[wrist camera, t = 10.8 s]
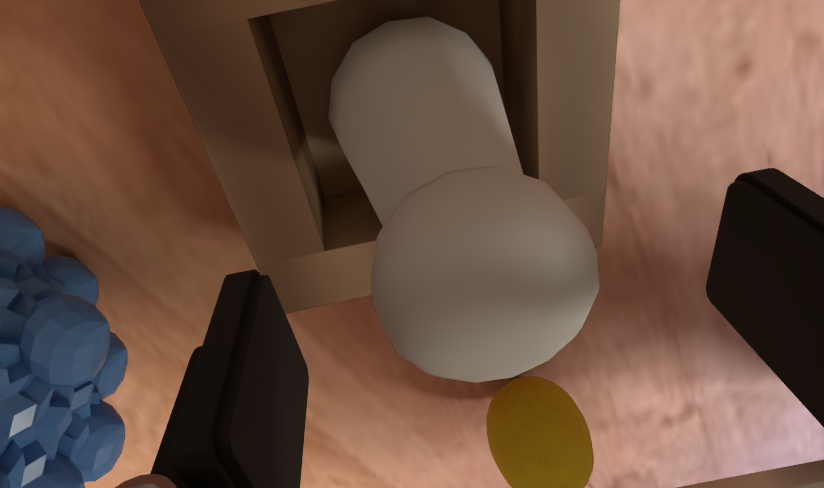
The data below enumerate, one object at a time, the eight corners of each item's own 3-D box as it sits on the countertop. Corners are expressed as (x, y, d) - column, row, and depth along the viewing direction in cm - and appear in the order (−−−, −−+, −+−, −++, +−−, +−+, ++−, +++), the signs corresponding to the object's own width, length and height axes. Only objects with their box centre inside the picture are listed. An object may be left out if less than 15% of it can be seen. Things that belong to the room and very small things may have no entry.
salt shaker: (303, 34, 18) (271, 248, 7) (459, -21, 17) (662, 118, 7) (360, 174, 21) (394, 457, 11) (491, 130, 21) (660, 378, 10)
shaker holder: (560, -162, 16) (634, -177, 12) (556, 187, 24) (601, 245, 20) (161, -81, 16) (107, -71, 12) (286, 244, 24) (278, 315, 20)
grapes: (229, 316, 26) (171, 577, 16) (113, 361, 26) (-10, 638, 17) (56, 113, 19) (-226, 351, 9) (-94, 180, 20) (-506, 470, 10)
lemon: (476, 414, 33) (512, 542, 27) (469, 359, 30) (508, 489, 24) (557, 397, 33) (613, 520, 27) (559, 340, 30) (623, 464, 24)
